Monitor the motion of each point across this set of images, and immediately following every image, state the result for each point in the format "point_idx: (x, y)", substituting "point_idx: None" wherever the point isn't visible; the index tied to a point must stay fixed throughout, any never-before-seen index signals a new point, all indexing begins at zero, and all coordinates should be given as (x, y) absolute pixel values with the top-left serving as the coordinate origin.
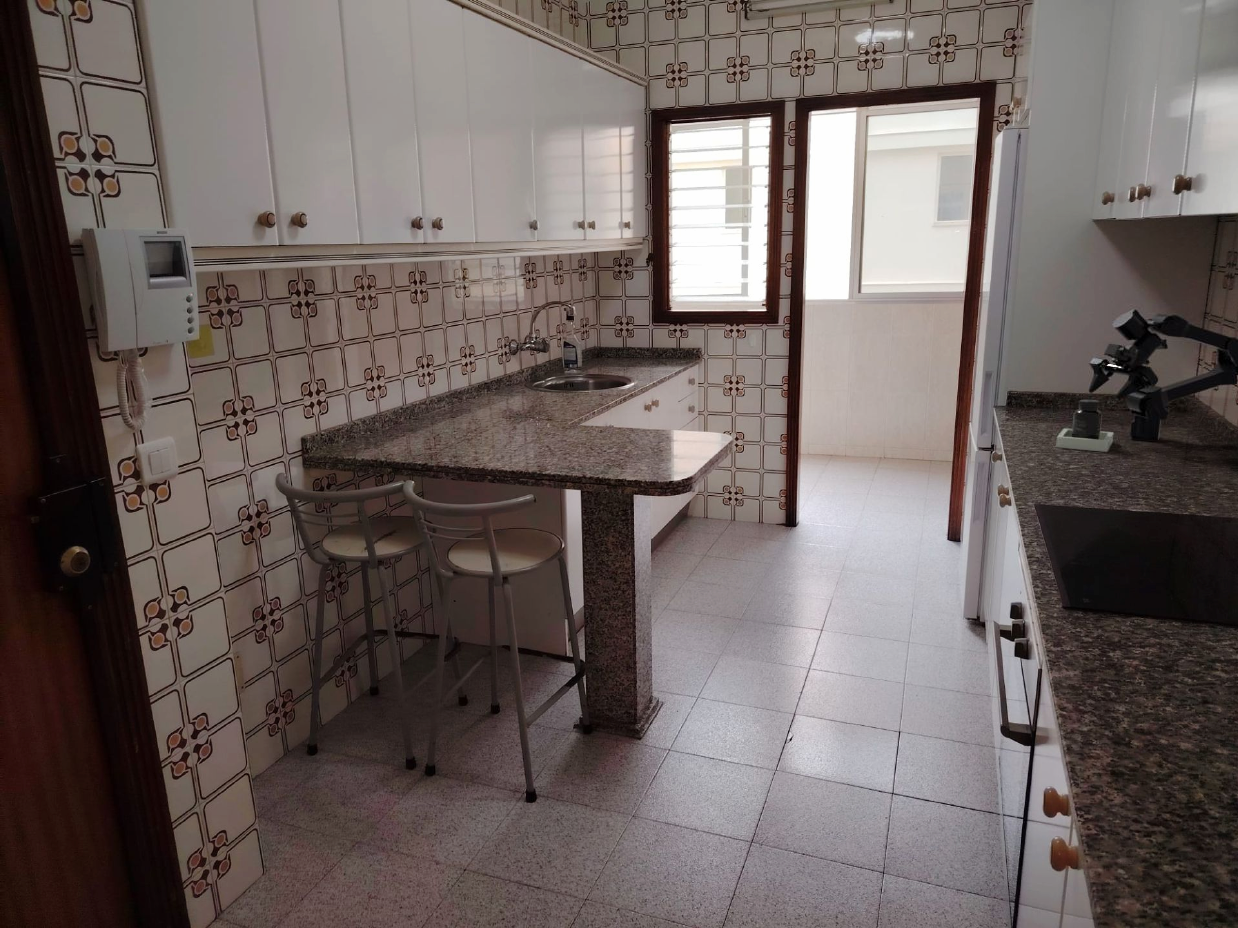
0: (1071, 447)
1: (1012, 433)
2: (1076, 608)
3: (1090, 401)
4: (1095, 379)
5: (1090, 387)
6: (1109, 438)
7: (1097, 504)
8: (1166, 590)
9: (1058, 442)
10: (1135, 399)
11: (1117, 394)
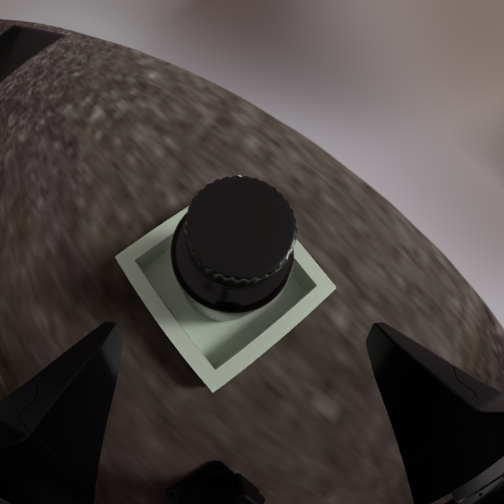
0: None
1: (402, 223)
2: (11, 27)
3: (221, 211)
4: (441, 378)
5: (396, 335)
6: (141, 295)
7: (22, 69)
8: None
9: None
10: None
11: (104, 333)
